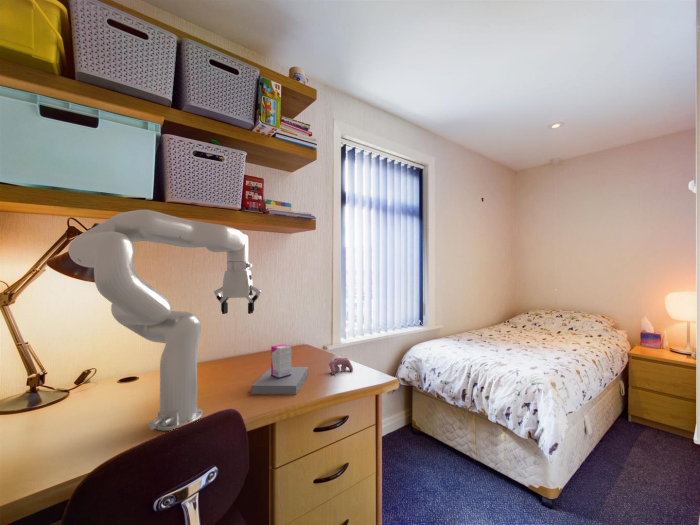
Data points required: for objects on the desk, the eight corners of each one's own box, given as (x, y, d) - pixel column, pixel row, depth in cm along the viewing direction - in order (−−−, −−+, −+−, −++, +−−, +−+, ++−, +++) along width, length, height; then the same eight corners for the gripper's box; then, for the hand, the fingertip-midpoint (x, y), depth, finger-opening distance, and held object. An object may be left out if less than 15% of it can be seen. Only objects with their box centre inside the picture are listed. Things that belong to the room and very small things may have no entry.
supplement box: (291, 375, 118) (291, 345, 119) (279, 379, 114) (278, 348, 114) (283, 372, 122) (282, 343, 123) (270, 376, 118) (270, 346, 118)
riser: (296, 394, 107) (296, 385, 107) (251, 394, 108) (251, 385, 108) (308, 374, 129) (308, 366, 129) (271, 374, 130) (271, 366, 130)
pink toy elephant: (350, 373, 134) (347, 357, 137) (354, 370, 131) (350, 354, 134) (329, 376, 130) (326, 360, 133) (333, 374, 126) (330, 357, 129)
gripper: (264, 266, 115) (264, 312, 114) (219, 267, 116) (219, 312, 115) (256, 266, 108) (257, 314, 107) (209, 267, 109) (209, 315, 108)
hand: (237, 313), depth 111 cm, fingers open, 9 cm apart
